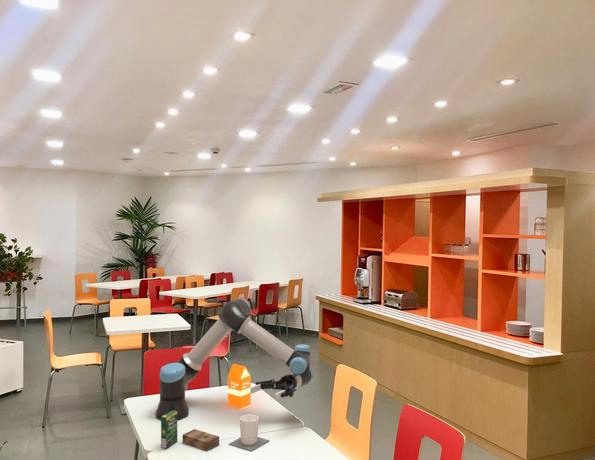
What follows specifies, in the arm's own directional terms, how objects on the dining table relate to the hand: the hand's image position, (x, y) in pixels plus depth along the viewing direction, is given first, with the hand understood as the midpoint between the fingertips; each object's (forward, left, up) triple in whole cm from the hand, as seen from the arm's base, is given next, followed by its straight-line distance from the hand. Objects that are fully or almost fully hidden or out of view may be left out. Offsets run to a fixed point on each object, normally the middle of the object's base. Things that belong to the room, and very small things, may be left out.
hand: (263, 393), depth 220 cm
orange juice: (-31, +22, -17) cm, 42 cm away
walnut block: (-14, -23, -17) cm, 32 cm away
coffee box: (-24, -31, -17) cm, 43 cm away
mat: (+2, -11, -17) cm, 21 cm away
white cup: (+1, -11, -17) cm, 20 cm away
